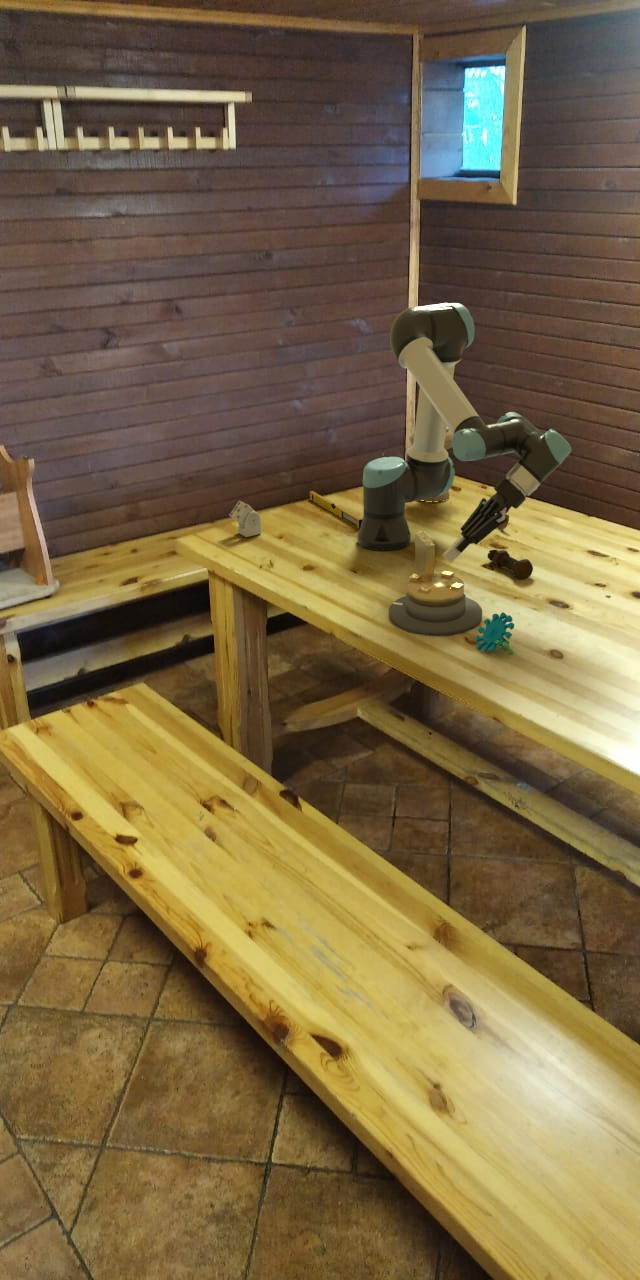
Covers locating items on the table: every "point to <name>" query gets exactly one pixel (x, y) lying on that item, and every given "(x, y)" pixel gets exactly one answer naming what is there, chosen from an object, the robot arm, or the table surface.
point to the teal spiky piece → (495, 633)
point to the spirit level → (335, 509)
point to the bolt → (511, 564)
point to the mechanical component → (246, 519)
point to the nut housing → (435, 617)
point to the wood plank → (504, 525)
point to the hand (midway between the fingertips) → (447, 558)
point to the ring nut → (432, 578)
